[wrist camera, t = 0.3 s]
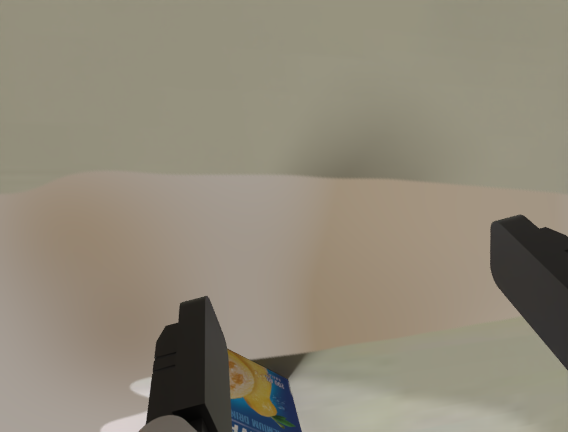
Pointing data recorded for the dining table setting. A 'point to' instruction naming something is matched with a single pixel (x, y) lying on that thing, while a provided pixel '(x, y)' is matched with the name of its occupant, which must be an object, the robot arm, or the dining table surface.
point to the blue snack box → (259, 398)
